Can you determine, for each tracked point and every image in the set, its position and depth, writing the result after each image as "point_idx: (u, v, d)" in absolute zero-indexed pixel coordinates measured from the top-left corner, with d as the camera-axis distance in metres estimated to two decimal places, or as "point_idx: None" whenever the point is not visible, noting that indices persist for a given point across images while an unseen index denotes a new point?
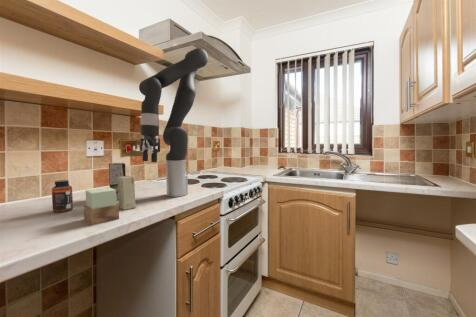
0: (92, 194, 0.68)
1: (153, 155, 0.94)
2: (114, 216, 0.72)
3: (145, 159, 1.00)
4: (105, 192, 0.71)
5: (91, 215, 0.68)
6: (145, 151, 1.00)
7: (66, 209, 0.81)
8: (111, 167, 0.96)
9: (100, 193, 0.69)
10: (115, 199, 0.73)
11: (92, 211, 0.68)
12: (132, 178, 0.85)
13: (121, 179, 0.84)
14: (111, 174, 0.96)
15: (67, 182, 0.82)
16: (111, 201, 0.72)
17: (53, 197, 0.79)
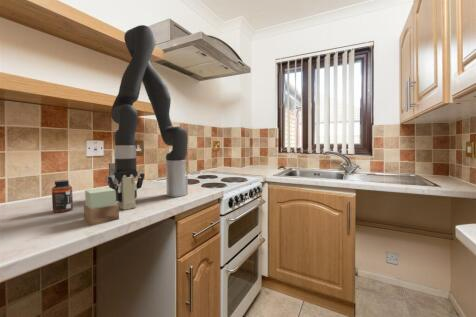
0: (91, 194, 0.68)
1: (135, 192, 0.88)
2: (114, 216, 0.72)
3: None
4: (104, 192, 0.70)
5: (91, 215, 0.67)
6: None
7: (66, 209, 0.81)
8: (111, 167, 0.96)
9: (99, 193, 0.69)
10: (114, 199, 0.72)
11: (92, 211, 0.68)
12: (132, 178, 0.85)
13: None
14: (111, 174, 0.96)
15: (67, 182, 0.82)
16: (110, 201, 0.72)
17: (53, 197, 0.79)
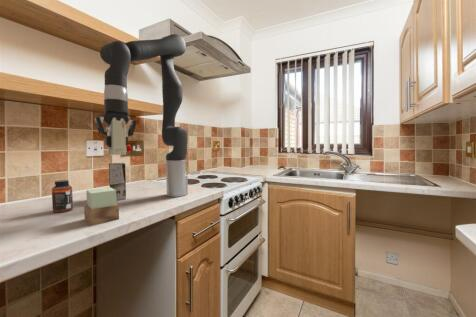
0: (92, 194, 0.68)
1: (126, 139, 0.82)
2: (114, 216, 0.72)
3: None
4: (105, 192, 0.70)
5: (91, 215, 0.67)
6: None
7: (66, 209, 0.81)
8: (111, 167, 0.96)
9: (100, 193, 0.69)
10: (115, 199, 0.72)
11: (92, 211, 0.68)
12: (123, 122, 0.79)
13: None
14: (111, 174, 0.96)
15: (67, 182, 0.82)
16: (110, 201, 0.72)
17: (53, 197, 0.79)
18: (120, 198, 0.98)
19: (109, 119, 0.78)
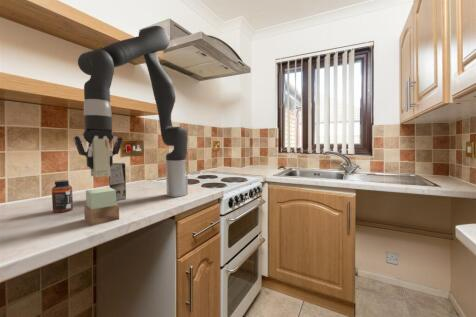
0: (91, 194, 0.68)
1: (110, 159, 0.74)
2: (114, 216, 0.72)
3: None
4: (105, 192, 0.70)
5: (91, 215, 0.67)
6: None
7: (66, 209, 0.81)
8: (111, 167, 0.96)
9: (100, 193, 0.69)
10: (115, 199, 0.72)
11: (92, 211, 0.68)
12: (106, 140, 0.71)
13: None
14: (111, 174, 0.96)
15: (67, 182, 0.82)
16: (110, 201, 0.71)
17: (53, 197, 0.79)
18: (120, 198, 0.98)
19: (90, 138, 0.69)
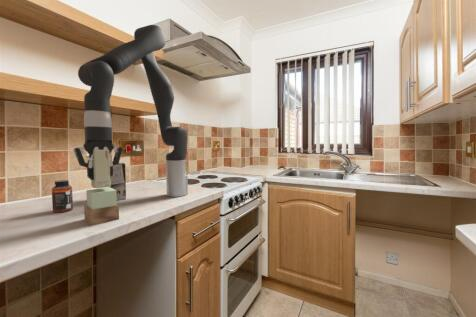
0: (92, 194, 0.68)
1: (111, 169, 0.74)
2: (114, 217, 0.72)
3: None
4: (105, 192, 0.70)
5: (91, 215, 0.67)
6: None
7: (66, 209, 0.81)
8: None
9: (100, 193, 0.69)
10: (115, 199, 0.72)
11: (92, 211, 0.68)
12: (106, 151, 0.71)
13: (93, 152, 0.69)
14: None
15: (67, 182, 0.82)
16: (111, 201, 0.71)
17: (53, 197, 0.79)
18: (120, 198, 0.98)
19: (90, 149, 0.69)
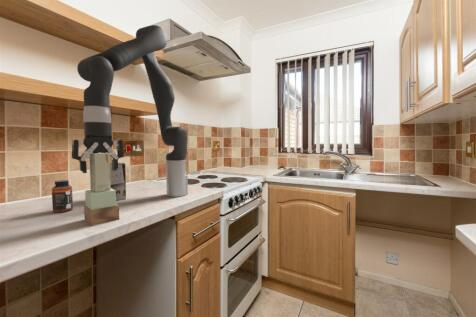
0: (91, 195, 0.67)
1: (116, 162, 0.75)
2: (114, 217, 0.72)
3: None
4: (104, 192, 0.70)
5: (91, 215, 0.67)
6: None
7: (66, 209, 0.81)
8: (111, 167, 0.96)
9: (99, 193, 0.69)
10: (115, 200, 0.72)
11: (92, 211, 0.67)
12: (106, 154, 0.71)
13: (93, 155, 0.69)
14: (111, 174, 0.96)
15: (67, 182, 0.82)
16: (110, 201, 0.71)
17: (53, 197, 0.79)
18: (120, 198, 0.98)
19: (90, 143, 0.69)
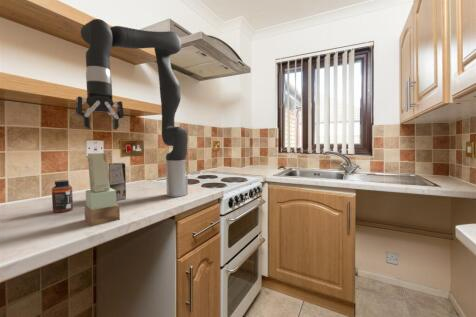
0: (91, 195, 0.67)
1: (116, 121, 0.81)
2: (115, 217, 0.72)
3: None
4: (105, 193, 0.70)
5: (92, 215, 0.67)
6: None
7: (66, 209, 0.81)
8: (111, 167, 0.96)
9: (100, 194, 0.69)
10: (115, 200, 0.72)
11: (93, 211, 0.67)
12: (104, 154, 0.70)
13: (90, 155, 0.69)
14: (111, 174, 0.96)
15: (67, 182, 0.82)
16: (110, 201, 0.71)
17: (53, 197, 0.79)
18: (120, 198, 0.98)
19: (92, 101, 0.75)
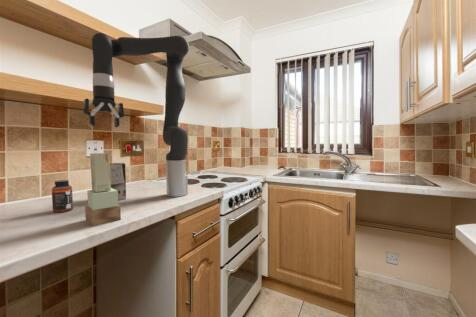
0: (93, 195, 0.67)
1: (118, 120, 0.94)
2: (116, 217, 0.72)
3: None
4: (106, 193, 0.69)
5: (93, 216, 0.67)
6: None
7: (66, 209, 0.81)
8: (111, 167, 0.96)
9: (101, 194, 0.68)
10: (116, 200, 0.72)
11: (94, 212, 0.67)
12: (106, 154, 0.70)
13: (93, 155, 0.69)
14: (111, 174, 0.96)
15: (67, 182, 0.82)
16: (112, 202, 0.71)
17: (53, 197, 0.79)
18: (120, 198, 0.98)
19: (97, 102, 0.88)
